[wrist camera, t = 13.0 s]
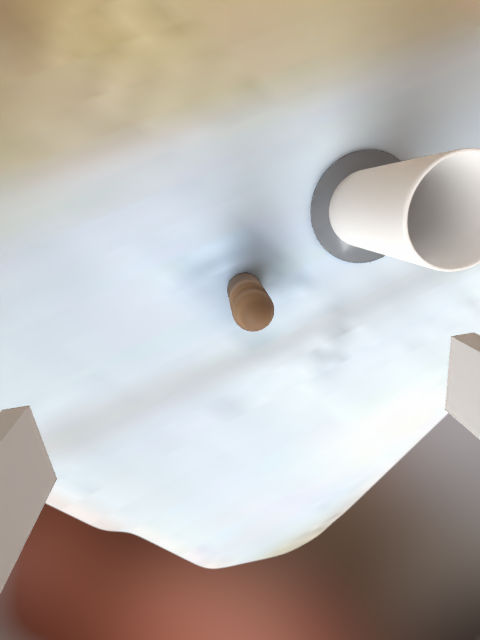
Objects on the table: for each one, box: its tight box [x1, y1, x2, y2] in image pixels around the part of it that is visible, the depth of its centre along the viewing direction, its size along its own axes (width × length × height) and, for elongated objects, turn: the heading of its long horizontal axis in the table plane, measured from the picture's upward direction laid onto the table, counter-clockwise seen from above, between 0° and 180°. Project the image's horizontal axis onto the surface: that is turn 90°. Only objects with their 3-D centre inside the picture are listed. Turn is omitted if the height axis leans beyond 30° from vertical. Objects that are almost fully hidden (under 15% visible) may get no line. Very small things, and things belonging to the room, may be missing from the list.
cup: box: [329, 148, 480, 271], centre depth 32 cm, size 8×8×16 cm
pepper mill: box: [227, 273, 274, 331], centre depth 37 cm, size 4×4×10 cm
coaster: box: [311, 150, 401, 263], centre depth 40 cm, size 12×12×1 cm
